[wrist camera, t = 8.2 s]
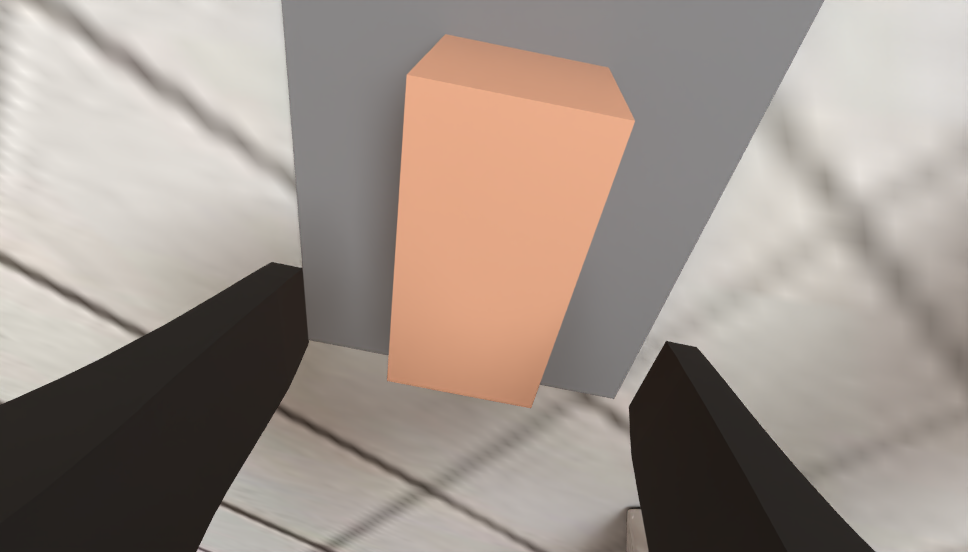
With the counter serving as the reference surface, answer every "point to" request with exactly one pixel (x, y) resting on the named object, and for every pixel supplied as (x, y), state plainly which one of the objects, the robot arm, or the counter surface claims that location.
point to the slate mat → (638, 181)
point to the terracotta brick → (496, 212)
